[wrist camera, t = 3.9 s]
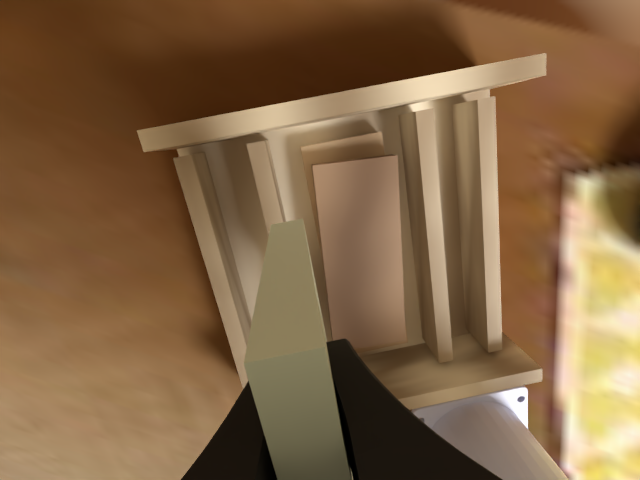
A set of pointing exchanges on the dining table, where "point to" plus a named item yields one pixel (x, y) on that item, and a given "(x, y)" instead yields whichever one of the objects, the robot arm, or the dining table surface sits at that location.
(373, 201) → the offcut upper
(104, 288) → the dining table surface
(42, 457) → the dining table surface
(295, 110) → the rack
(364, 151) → the offcut lower
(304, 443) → the panel
